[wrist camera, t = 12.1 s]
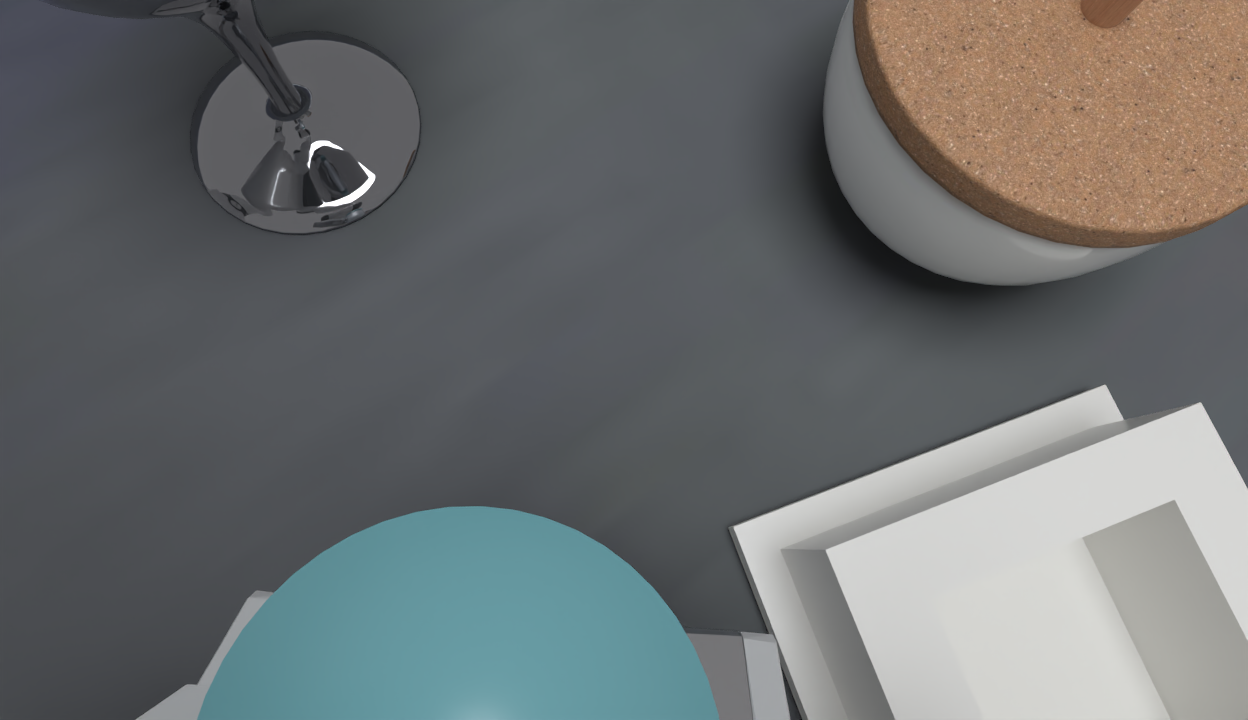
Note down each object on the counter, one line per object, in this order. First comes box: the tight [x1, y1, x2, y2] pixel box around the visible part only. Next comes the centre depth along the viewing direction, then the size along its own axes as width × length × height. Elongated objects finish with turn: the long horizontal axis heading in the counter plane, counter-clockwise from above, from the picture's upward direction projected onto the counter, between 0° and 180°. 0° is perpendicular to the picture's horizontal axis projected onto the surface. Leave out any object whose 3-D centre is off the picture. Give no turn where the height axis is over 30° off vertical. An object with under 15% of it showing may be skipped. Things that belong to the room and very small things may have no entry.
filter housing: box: [728, 385, 1248, 720], centre depth 19 cm, size 12×12×5 cm
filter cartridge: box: [197, 506, 719, 720], centre depth 13 cm, size 5×5×12 cm
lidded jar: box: [823, 0, 1248, 285], centre depth 20 cm, size 11×11×9 cm
